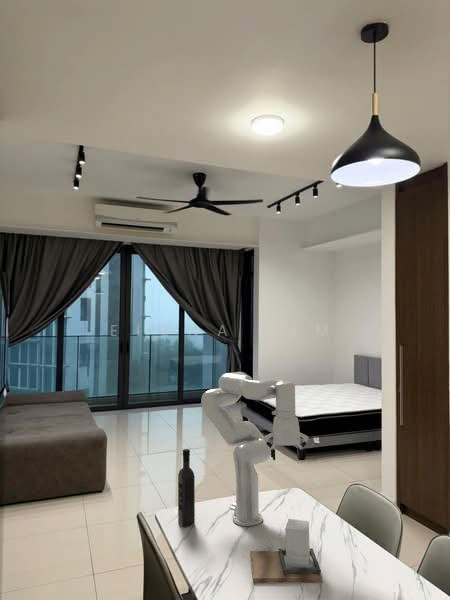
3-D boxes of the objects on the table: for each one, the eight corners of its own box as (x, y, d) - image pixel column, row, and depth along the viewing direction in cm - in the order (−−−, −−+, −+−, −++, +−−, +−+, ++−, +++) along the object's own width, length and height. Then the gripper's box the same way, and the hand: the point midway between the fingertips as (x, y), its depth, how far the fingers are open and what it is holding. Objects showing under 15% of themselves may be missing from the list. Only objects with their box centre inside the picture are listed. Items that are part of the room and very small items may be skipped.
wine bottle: (183, 528, 171) (182, 452, 172) (177, 522, 176) (177, 449, 177) (195, 524, 174) (195, 450, 175) (189, 519, 178) (189, 447, 180)
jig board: (253, 583, 135) (252, 573, 135) (250, 555, 151) (250, 546, 151) (322, 582, 135) (321, 572, 135) (311, 554, 151) (311, 546, 151)
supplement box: (310, 558, 146) (309, 520, 146) (308, 570, 138) (307, 530, 139) (288, 554, 148) (288, 517, 148) (285, 566, 140) (285, 527, 141)
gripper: (264, 416, 160) (264, 462, 159) (309, 416, 160) (310, 462, 159) (262, 412, 167) (263, 456, 166) (306, 411, 167) (306, 455, 166)
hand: (286, 459), depth 163 cm, fingers open, 9 cm apart
